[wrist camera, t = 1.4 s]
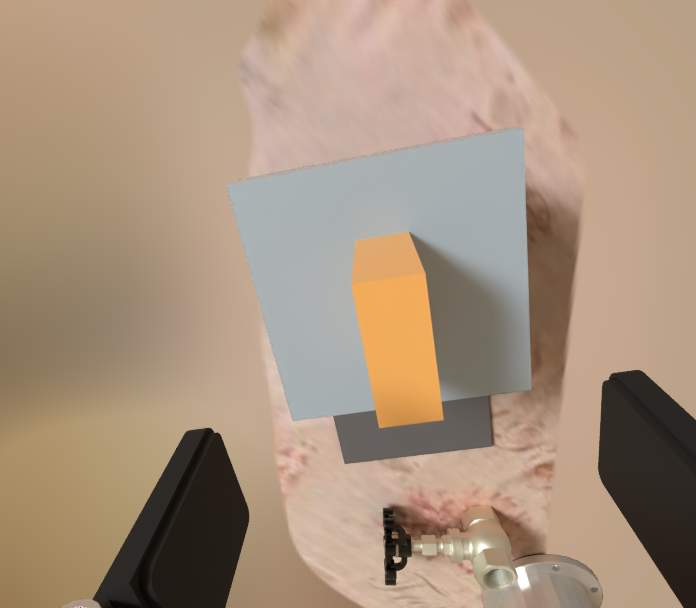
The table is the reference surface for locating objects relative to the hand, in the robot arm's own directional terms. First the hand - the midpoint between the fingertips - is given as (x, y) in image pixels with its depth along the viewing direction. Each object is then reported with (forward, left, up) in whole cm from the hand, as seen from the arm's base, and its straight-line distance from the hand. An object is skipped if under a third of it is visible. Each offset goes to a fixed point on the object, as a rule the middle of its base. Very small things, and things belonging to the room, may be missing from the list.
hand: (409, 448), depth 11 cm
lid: (0, 0, -14) cm, 14 cm away
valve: (-23, +21, -25) cm, 40 cm away
